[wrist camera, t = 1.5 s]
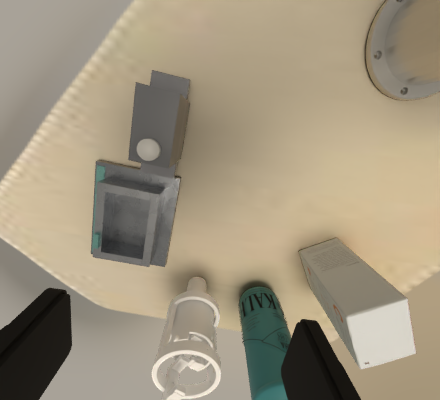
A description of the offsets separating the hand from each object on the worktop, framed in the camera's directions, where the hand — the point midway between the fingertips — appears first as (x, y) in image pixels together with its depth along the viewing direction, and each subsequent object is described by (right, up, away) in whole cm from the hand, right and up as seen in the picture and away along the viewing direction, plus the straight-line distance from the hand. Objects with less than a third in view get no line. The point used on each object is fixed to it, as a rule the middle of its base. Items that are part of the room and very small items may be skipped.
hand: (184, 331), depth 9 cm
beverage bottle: (+8, -10, +28) cm, 30 cm away
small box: (+18, -5, +26) cm, 32 cm away
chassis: (-11, +3, +23) cm, 25 cm away
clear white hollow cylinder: (-2, -8, +27) cm, 28 cm away
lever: (-5, +15, +19) cm, 25 cm away
